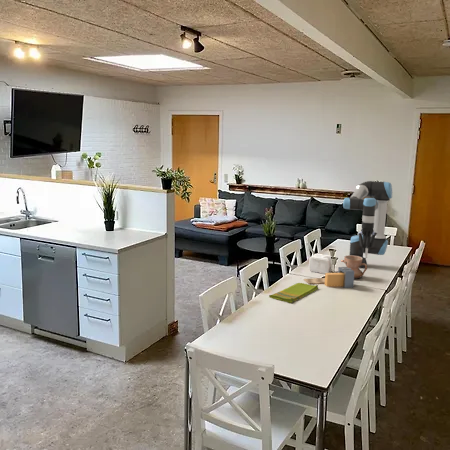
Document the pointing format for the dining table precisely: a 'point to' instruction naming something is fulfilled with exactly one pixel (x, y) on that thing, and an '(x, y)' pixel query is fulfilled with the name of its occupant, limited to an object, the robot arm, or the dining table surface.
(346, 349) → the dining table surface
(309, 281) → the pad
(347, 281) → the block
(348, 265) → the ceramic jug
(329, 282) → the plug
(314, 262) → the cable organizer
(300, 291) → the dish towel
